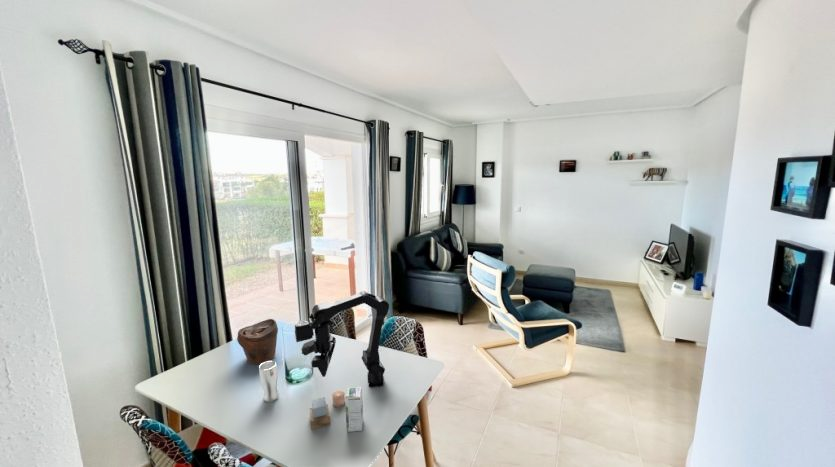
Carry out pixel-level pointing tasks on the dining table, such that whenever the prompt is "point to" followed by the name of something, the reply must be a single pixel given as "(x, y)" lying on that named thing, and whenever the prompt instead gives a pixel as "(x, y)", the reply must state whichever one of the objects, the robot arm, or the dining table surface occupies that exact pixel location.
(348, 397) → the syrup box
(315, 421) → the walnut base block
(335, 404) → the tan rounded tapered piece
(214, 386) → the dining table surface
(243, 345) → the brown plant pot
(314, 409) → the slate block
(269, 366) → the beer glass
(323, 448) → the dining table surface
